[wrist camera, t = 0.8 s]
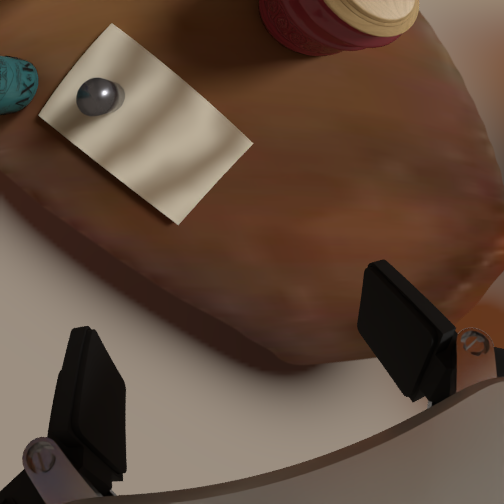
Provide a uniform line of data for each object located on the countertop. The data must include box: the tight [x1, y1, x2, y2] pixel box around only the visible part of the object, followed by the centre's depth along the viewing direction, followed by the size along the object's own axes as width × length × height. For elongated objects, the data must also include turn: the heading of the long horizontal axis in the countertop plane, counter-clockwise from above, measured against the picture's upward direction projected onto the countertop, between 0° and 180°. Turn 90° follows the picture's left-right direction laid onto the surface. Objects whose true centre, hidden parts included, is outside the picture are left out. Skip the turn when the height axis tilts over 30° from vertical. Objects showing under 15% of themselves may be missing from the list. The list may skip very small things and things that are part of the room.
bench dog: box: [76, 78, 125, 116], centre depth 26 cm, size 4×4×7 cm
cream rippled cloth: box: [38, 23, 253, 225], centre depth 32 cm, size 22×13×2 cm, turn 45°
